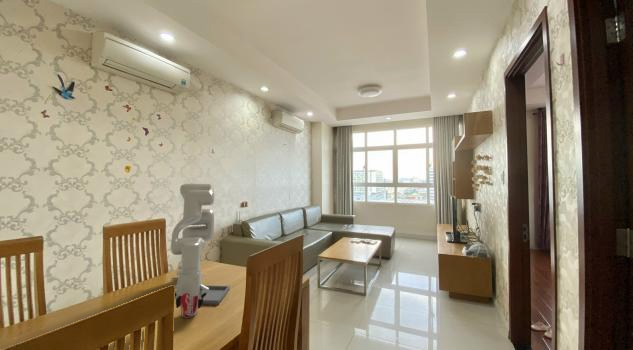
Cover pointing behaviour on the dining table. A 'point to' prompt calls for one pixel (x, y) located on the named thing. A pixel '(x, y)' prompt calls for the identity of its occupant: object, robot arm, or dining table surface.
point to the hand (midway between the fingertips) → (189, 306)
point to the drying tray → (215, 294)
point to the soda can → (189, 305)
